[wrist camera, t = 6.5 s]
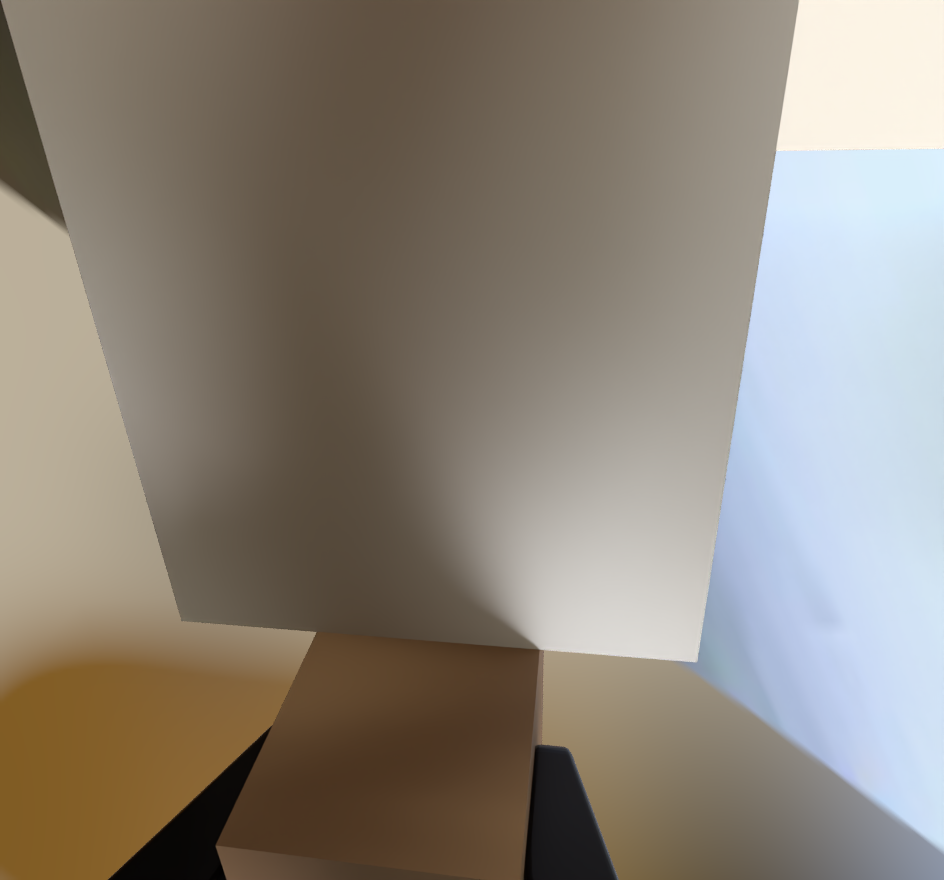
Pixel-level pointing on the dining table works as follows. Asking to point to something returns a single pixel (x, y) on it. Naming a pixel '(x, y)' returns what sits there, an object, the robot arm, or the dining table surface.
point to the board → (865, 76)
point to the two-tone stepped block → (418, 361)
